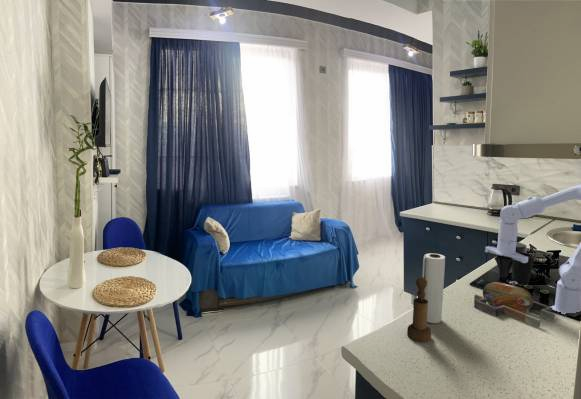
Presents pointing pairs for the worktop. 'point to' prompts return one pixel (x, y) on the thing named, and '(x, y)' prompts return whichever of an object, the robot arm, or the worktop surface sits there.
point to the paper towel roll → (434, 285)
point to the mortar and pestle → (420, 315)
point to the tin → (508, 296)
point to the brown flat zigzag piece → (536, 308)
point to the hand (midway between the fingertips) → (503, 276)
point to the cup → (522, 269)
